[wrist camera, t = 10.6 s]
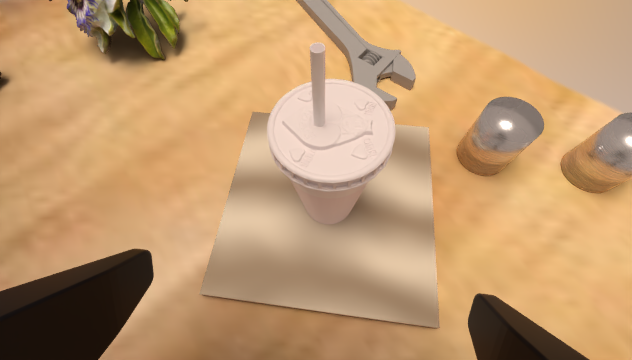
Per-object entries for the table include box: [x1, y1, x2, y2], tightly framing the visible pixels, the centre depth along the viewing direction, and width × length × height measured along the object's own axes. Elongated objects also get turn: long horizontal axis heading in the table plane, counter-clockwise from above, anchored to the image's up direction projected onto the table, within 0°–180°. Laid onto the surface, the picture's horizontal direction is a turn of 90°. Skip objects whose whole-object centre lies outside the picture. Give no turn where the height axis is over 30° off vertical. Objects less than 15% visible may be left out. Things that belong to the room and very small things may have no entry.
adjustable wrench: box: [296, 0, 416, 110], centre depth 33 cm, size 25×6×2 cm, turn 24°
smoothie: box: [267, 43, 395, 225], centre depth 17 cm, size 6×6×14 cm
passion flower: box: [49, 0, 188, 60], centre depth 31 cm, size 11×11×12 cm
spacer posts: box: [457, 97, 632, 193], centre depth 22 cm, size 8×19×5 cm, turn 53°
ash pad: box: [200, 112, 440, 328], centre depth 23 cm, size 16×16×1 cm
